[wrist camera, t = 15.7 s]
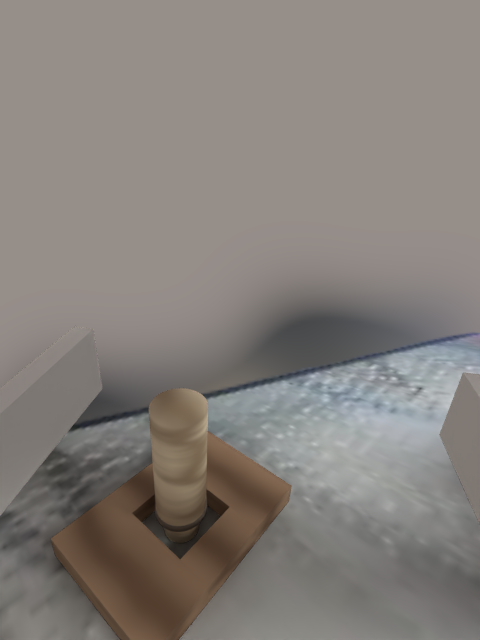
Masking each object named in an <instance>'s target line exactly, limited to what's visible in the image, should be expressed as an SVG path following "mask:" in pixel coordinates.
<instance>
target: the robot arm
mask: <svg viewBox="0 0 480 640" xmlns="http://www.w3.org/2000/svg"><path fill="white" fill-rule="evenodd" d="M101 389H102V382H101V376H100V369H99V363H98V356H97V350H96V343H95V338H94V331H93V329H88V328H80V327H74V328H72V329H71V330H70V331H69V332H67V333H66V334H65V335H64V336H63V337H61V338H60V339H59V340H58V341H57V342H55V343H54V344H53V345H52V346H50V347H49V348H48V349H47V350H46V351H44V352H43V353H42V354H41V355H40V356H38V357H37V358H36V359H35V360H34V361H33V362H31V363H30V364H29V365H28V366H27V367H25V368H24V369H23V370H22V371H20V372H19V373H18V374H17V375H16V376H15V377H13V378H12V379H11V380H10V381H8V382H7V383H6V384H5V385H4V386H2V387H1V388H0V516H1V514H2V513H3V512H4V511H5V509H6V508H7V507H8V506H9V504H10V503H11V502H12V501H13V499H14V498H15V497H16V496H17V494H18V493H19V492H20V491H21V489H22V488H23V487H24V486H25V484H26V483H27V482H28V481H29V479H30V478H31V477H32V476H33V474H34V473H35V472H36V471H37V469H38V468H39V467H40V466H41V464H42V463H43V462H44V461H45V459H46V458H47V457H48V456H49V454H50V453H51V452H52V451H53V449H54V448H55V447H56V446H57V444H58V443H59V442H60V441H61V439H62V438H63V437H64V436H65V434H66V433H67V432H68V431H69V429H70V428H71V427H72V426H73V424H74V423H75V422H76V421H77V419H78V418H79V417H80V416H81V414H82V413H83V412H84V411H85V409H86V408H87V407H88V406H89V404H90V403H91V402H92V401H93V399H94V398H95V397H96V396H97V394H98V393H99V392H100V391H101ZM440 437H441V439H442V441H443V444H444V446H445V448H446V450H447V453H448V455H449V457H450V459H451V462H452V464H453V466H454V468H455V471H456V473H457V475H458V477H459V479H460V482H461V484H462V486H463V488H464V491H465V493H466V495H467V497H468V500H469V502H470V504H471V506H472V509H473V511H474V513H475V515H476V517H477V520H478V522H479V524H480V375H479V374H471V373H463V374H462V377H461V379H460V382H459V385H458V387H457V390H456V393H455V395H454V398H453V401H452V403H451V406H450V408H449V411H448V414H447V416H446V419H445V422H444V424H443V427H442V429H441V432H440Z"/></svg>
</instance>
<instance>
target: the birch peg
mask: <svg viewBox="0 0 480 640" xmlns="http://www.w3.org/2000/svg"><path fill="white" fill-rule="evenodd" d="M149 420H150V433H151V447H152V461H153V475H154V489H155V515H156V518H157V521H158V522H159V524H160V525H161V526H162V527H164V530H165V534H166V536H167V537H168V538H169V539H170V540H171V541H173V542H176V543H184V542H187V541H189V540H191V539H192V538H193V537H194V536H195V535H196V534H197V532H198V529H199V523H200V522H201V521H202V520H203V518H204V517H205V514H206V511H207V497H206V482H207V428H208V403H207V400H206V399H205V397H204V396H203V395H202V394H200V393H198V392H196V391H194V390H190V389H184V388H179V389H171V390H167V391H165V392H162V393H160V394H159V395H157V396H156V397H155V398H154V399H153V400H152V401H151V403H150V405H149Z"/></svg>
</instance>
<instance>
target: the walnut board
mask: <svg viewBox="0 0 480 640" xmlns="http://www.w3.org/2000/svg"><path fill="white" fill-rule="evenodd" d="M290 491H291V485H289V484H288V483H286V482H285V481H283V480H282V479H280V478H279V477H277V476H276V475H274V474H273V473H271V472H270V471H268V470H267V469H265V468H263V467H262V466H260V465H259V464H257V463H256V462H254V461H253V460H251V459H250V458H248V457H247V456H245V455H244V454H242V453H241V452H239V451H237V450H236V449H234V448H233V447H231V446H230V445H228V444H227V443H225V442H224V441H222V440H221V439H219V438H218V437H216V436H215V435H213V434H212V433H210V432H208V431H207V482H206V497H207V505H208V506H209V507H210V508H211V509H213V510H214V511H215V512H216V513H218V514H219V515H220V516H221V517H220V518H219V519H218V520H217V521H216V522H215V523H214V524H213V525H212V526H211V527H210V528H209V529H208V530H207V532H206V533H205V534H204V535H203V536H202V537H201V538H200V539H199V540H198V541H197V542H196V543H195V544H194V545H193V546H192V547H191V548H190V549H189V551H188V552H187V553H186V554H185V555H184V556H183V557H182V558H181V559H179V558H178V557H177V556H176V555H175V554H174V553H173V552H172V551H171V550H170V549H169V548H168V547H167V546H166V545H165V544H164V543H163V542H161V541H160V540H159V539H158V538H157V537H156V536H155V535H154V534H153V533H152V532H151V531H150V530H149V529H148V528H147V527H146V526H145V525H144V524H143V523H142V521H143V520H145V519H146V518H147V517H148V516H149V515H150V514H152V513H153V512H154V511H155V489H154V475H153V462H152V463H151V464H150V465H148V466H147V467H146V468H144V469H143V470H142V471H140V472H139V473H138V474H136V475H135V476H134V477H132V478H131V479H130V480H128V481H127V482H126V483H124V484H123V485H122V486H120V487H119V488H118V489H116V490H115V491H114V492H112V493H111V494H110V495H108V496H107V497H106V498H104V499H103V500H102V501H100V502H99V503H98V504H96V505H95V506H94V507H92V508H91V509H90V510H88V511H87V512H86V513H84V514H83V515H82V516H80V517H79V518H78V519H76V520H75V521H74V522H72V523H71V524H70V525H68V526H67V527H66V528H64V529H63V530H62V531H60V532H59V533H58V534H56V535H55V536H54V537H52V538H51V542H52V546H53V549H54V553H55V556H56V557H57V558H58V559H59V561H60V562H61V563H62V565H63V566H64V567H65V569H66V570H67V571H68V572H69V574H70V575H71V576H72V578H73V579H74V580H75V581H76V583H77V584H78V585H79V587H80V588H81V589H82V591H83V592H84V593H85V594H86V596H87V597H88V598H89V600H90V601H91V602H92V603H93V605H94V606H95V607H96V609H97V610H98V611H99V613H100V614H101V615H102V616H103V618H104V619H105V620H106V622H107V623H108V624H109V625H110V627H111V628H112V629H113V631H114V632H115V633H116V635H117V636H118V637H119V638H120V640H179V639H180V637H181V636H182V635H183V634H184V632H185V631H186V630H187V629H188V627H189V626H190V625H191V624H192V622H193V621H194V620H195V619H196V617H197V616H198V615H199V614H200V612H201V611H202V610H203V609H204V607H205V606H206V605H207V603H208V602H209V601H210V600H211V598H212V597H213V596H214V595H215V593H216V592H217V591H218V590H219V588H220V587H221V586H222V585H223V583H224V582H225V581H226V580H227V578H228V577H229V576H230V575H231V573H232V572H233V571H234V569H235V568H236V567H237V566H238V564H239V563H240V562H241V561H242V559H243V558H244V557H245V556H246V554H247V553H248V552H249V551H250V549H251V548H252V547H253V546H254V544H255V543H256V542H257V541H258V539H259V538H260V537H261V535H262V534H263V533H264V532H265V530H266V529H267V528H268V527H269V525H270V524H271V523H272V522H273V520H274V519H275V518H276V517H277V515H278V514H279V513H280V512H281V510H282V509H283V508H284V507H285V505H286V504H287V503H288V501H289V497H290Z"/></svg>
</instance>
